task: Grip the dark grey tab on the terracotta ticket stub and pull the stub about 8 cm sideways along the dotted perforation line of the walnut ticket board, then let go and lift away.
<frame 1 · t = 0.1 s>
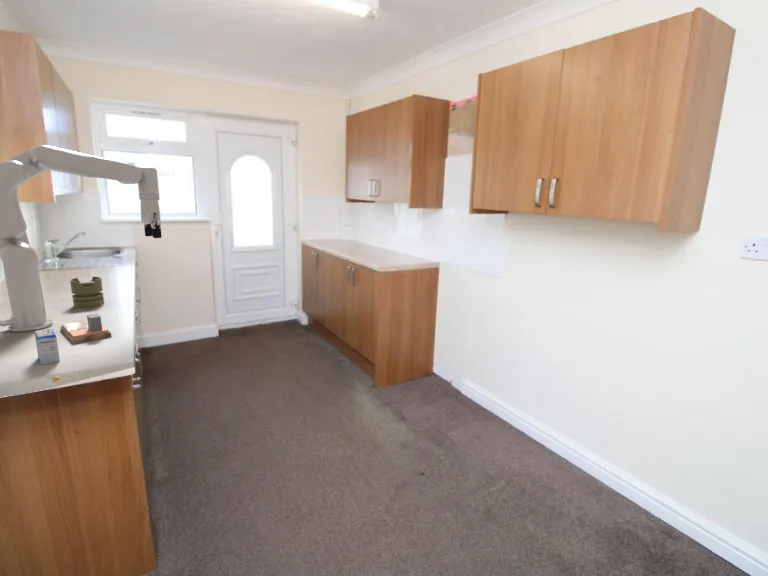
hand: (153, 237, 180), 31 cm above the table, tool pointing down, fingers open, 9 cm apart
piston: (89, 305, 186), on the table
medicine box: (49, 360, 125), on the table
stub: (87, 324, 144), point 4 cm above the table, slide at 0.0 cm
ticket board: (85, 333, 149), on the table
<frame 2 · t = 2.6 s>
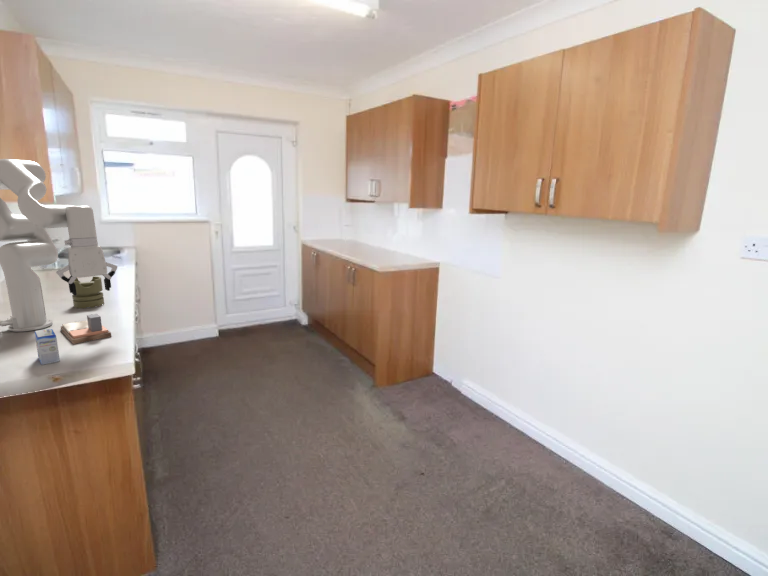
hand: (91, 292, 143), 16 cm above the table, tool pointing down, fingers open, 9 cm apart
nothing on the table moved.
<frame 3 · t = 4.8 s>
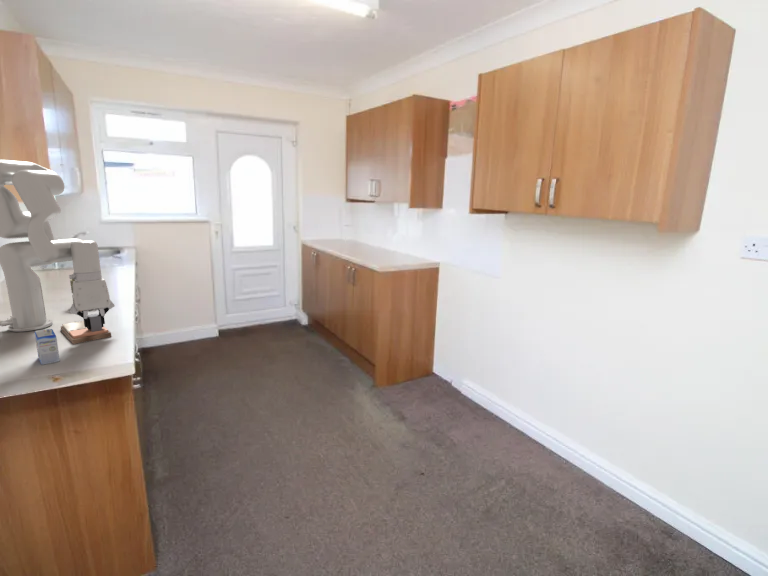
hand: (95, 327, 146), 3 cm above the table, tool pointing down, fingers closed on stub, 3 cm apart
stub: (87, 324, 144), point 4 cm above the table, slide at 0.0 cm, touching gripper
everything else where it was.
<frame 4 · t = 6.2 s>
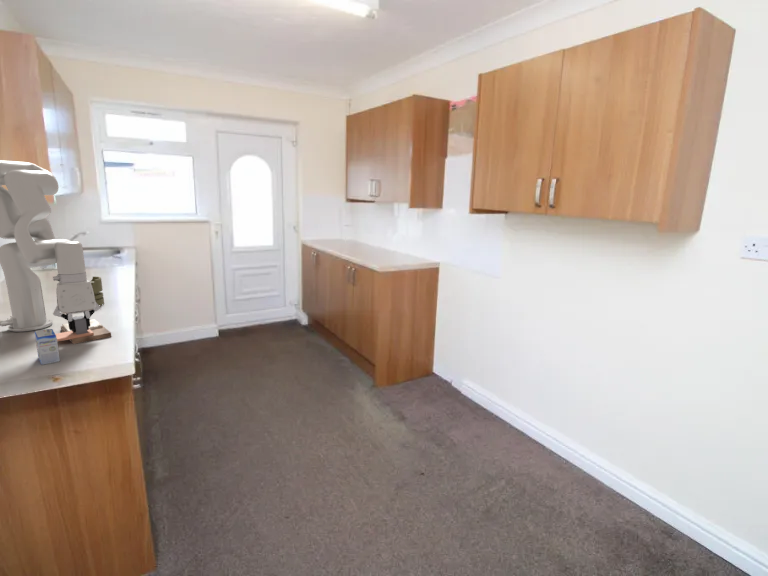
hand: (80, 329, 143), 3 cm above the table, tool pointing down, fingers closed on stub, 3 cm apart
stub: (72, 327, 141), point 4 cm above the table, slide at 4.3 cm, touching gripper
everything else where it was.
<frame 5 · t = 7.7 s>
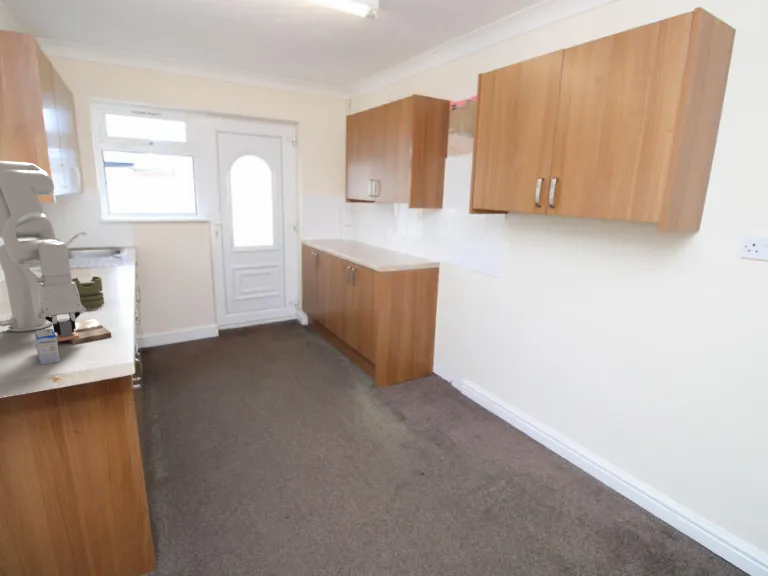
hand: (65, 332, 140), 3 cm above the table, tool pointing down, fingers closed on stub, 3 cm apart
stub: (57, 330, 138), point 4 cm above the table, slide at 8.5 cm, touching gripper
everything else where it was.
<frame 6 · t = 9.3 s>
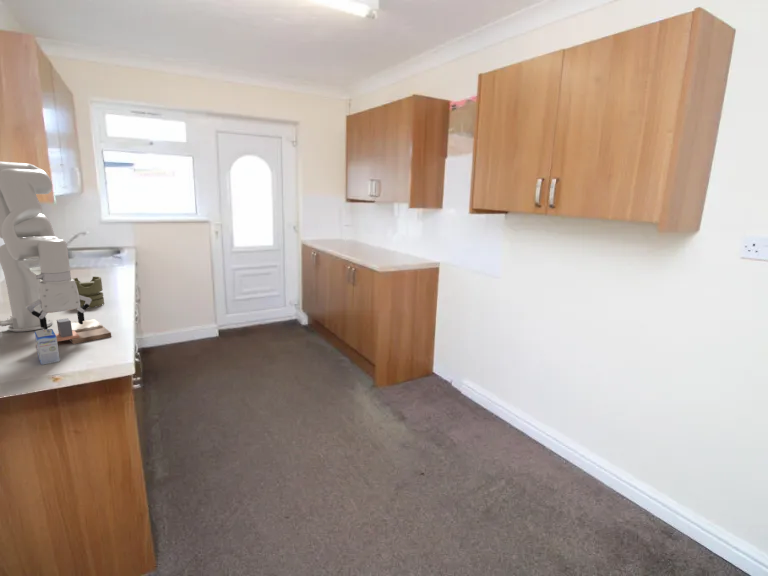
hand: (63, 326, 140), 5 cm above the table, tool pointing down, fingers open, 9 cm apart
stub: (57, 330, 138), point 4 cm above the table, slide at 8.5 cm
everything else where it was.
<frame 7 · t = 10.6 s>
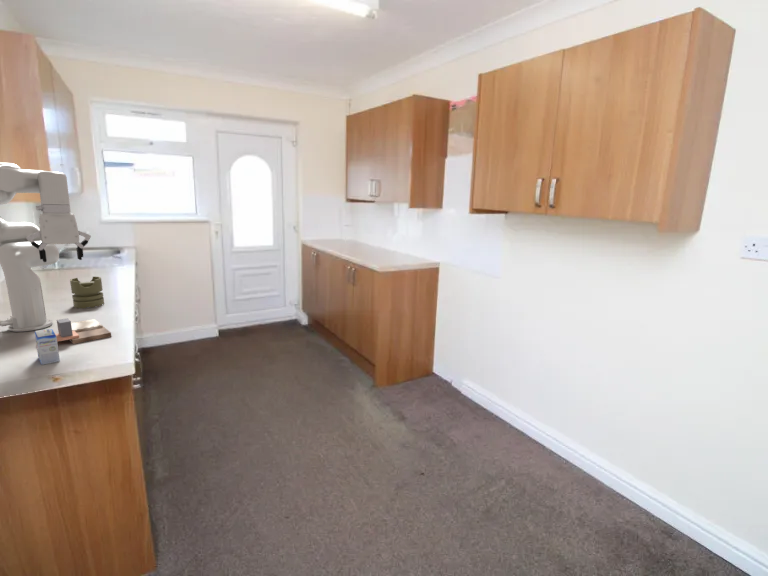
hand: (62, 260, 142), 27 cm above the table, tool pointing down, fingers open, 9 cm apart
nothing on the table moved.
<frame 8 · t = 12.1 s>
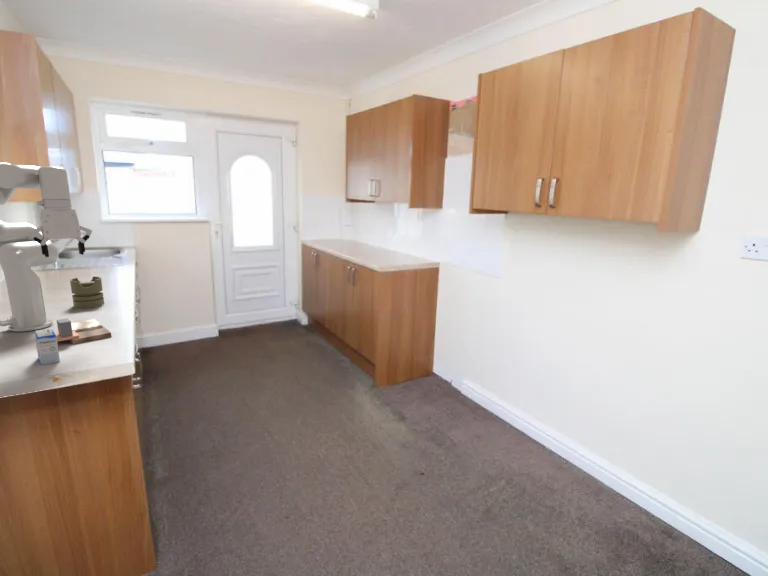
hand: (64, 255, 142), 28 cm above the table, tool pointing down, fingers open, 9 cm apart
nothing on the table moved.
at the end: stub slide at 8.5 cm; the gripper is holding nothing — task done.
